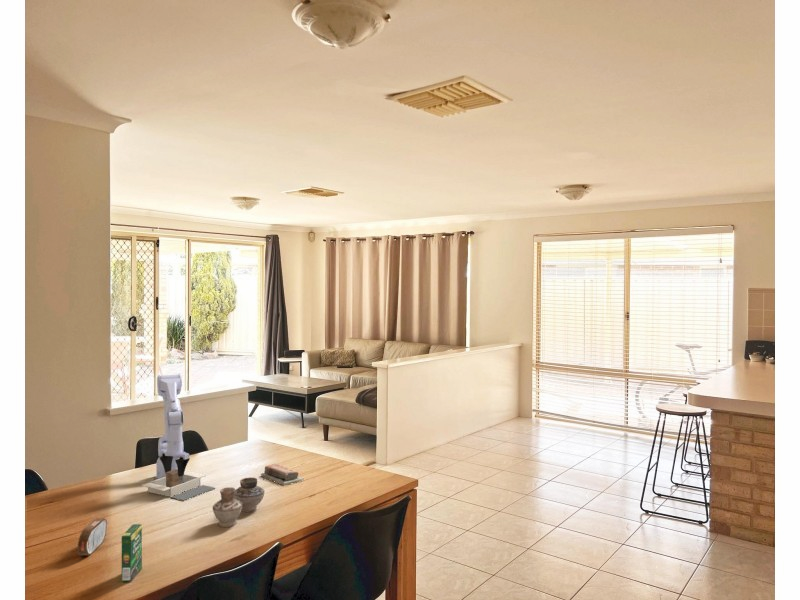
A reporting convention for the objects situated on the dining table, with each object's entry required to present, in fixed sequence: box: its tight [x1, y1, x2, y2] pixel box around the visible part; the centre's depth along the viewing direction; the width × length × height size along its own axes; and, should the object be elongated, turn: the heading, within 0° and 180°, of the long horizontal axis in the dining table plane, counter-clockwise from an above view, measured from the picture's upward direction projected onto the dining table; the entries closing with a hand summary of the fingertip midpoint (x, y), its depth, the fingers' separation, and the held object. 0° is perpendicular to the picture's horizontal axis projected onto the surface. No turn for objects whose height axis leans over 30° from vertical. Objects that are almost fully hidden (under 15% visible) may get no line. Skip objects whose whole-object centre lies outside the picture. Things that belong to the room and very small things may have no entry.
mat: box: [170, 484, 216, 502], centre depth 227 cm, size 7×16×1 cm, turn 152°
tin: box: [77, 517, 108, 556], centre depth 177 cm, size 15×3×8 cm, turn 5°
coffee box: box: [121, 523, 143, 583], centre depth 161 cm, size 8×3×13 cm, turn 3°
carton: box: [140, 470, 207, 498], centre depth 232 cm, size 13×21×4 cm, turn 152°
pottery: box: [212, 477, 266, 528], centre depth 205 cm, size 11×25×12 cm, turn 166°
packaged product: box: [260, 463, 304, 486], centre depth 246 cm, size 18×5×10 cm
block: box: [166, 469, 183, 488], centre depth 232 cm, size 4×5×7 cm
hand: (174, 474), depth 232 cm, fingers open, 7 cm apart
